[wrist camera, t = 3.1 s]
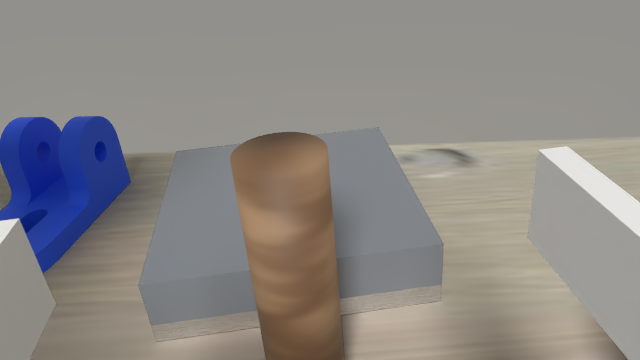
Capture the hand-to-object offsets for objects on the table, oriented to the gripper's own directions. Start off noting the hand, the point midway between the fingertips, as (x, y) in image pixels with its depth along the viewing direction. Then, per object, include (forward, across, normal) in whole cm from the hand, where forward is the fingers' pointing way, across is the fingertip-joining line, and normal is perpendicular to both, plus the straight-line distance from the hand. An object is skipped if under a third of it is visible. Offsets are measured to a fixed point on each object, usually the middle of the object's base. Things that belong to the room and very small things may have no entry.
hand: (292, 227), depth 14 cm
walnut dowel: (+10, 0, -18) cm, 21 cm away
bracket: (+33, -23, -18) cm, 45 cm away
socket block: (+26, 0, -18) cm, 32 cm away
